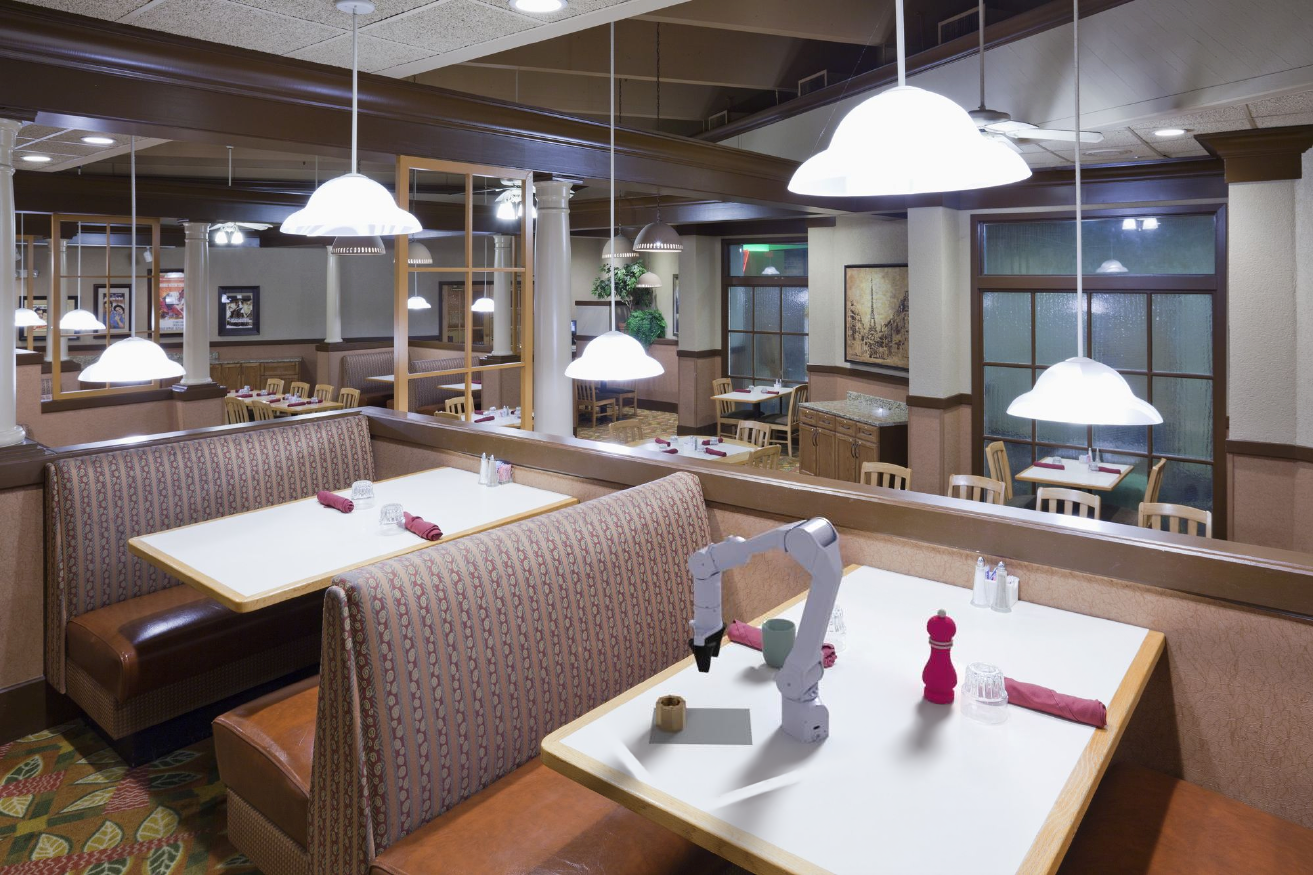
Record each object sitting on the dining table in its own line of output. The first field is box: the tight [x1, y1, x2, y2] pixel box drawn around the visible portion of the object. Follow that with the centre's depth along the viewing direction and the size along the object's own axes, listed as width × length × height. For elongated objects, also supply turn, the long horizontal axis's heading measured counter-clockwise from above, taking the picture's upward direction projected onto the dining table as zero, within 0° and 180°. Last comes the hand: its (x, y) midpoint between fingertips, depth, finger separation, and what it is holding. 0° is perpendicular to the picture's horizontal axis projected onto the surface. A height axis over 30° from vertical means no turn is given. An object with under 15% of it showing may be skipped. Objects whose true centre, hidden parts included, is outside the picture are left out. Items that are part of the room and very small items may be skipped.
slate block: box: [648, 707, 753, 746], centre depth 169 cm, size 20×14×2 cm
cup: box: [761, 618, 797, 669], centre depth 198 cm, size 8×8×10 cm
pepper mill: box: [921, 608, 958, 705], centre depth 179 cm, size 7×7×20 cm
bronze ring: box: [655, 694, 687, 733], centre depth 169 cm, size 6×6×5 cm
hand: (708, 663), depth 179 cm, fingers open, 7 cm apart
